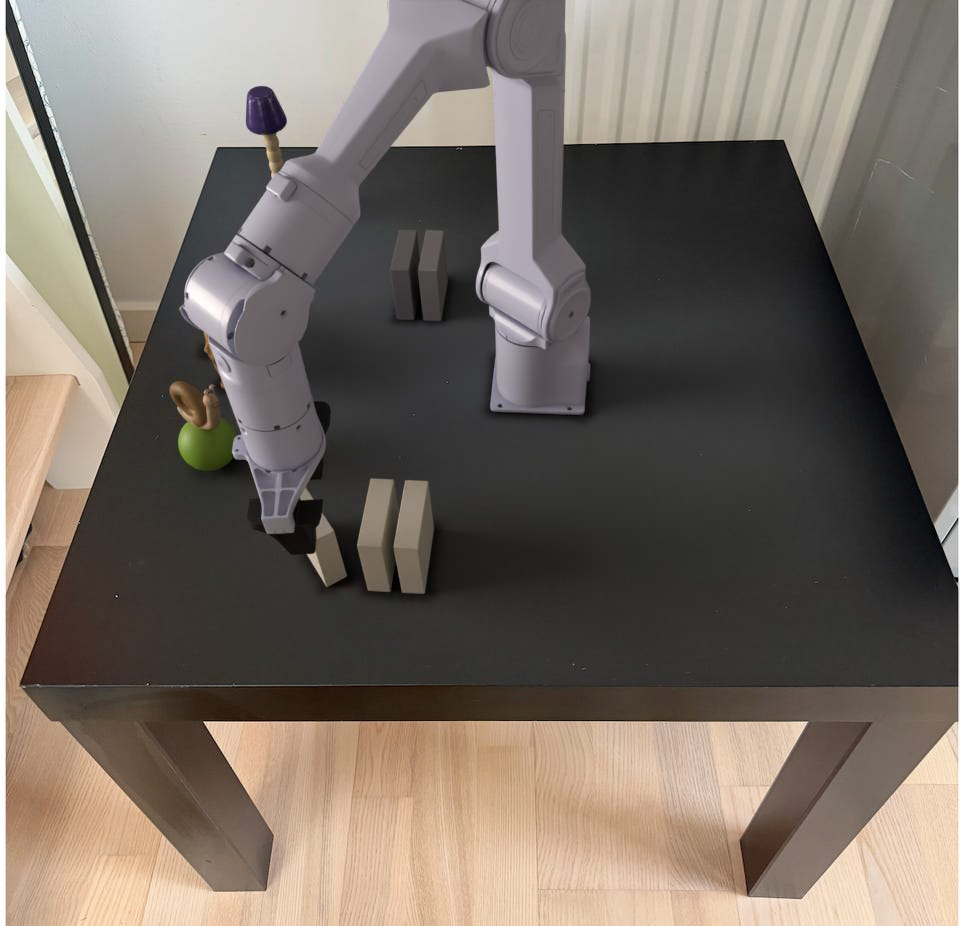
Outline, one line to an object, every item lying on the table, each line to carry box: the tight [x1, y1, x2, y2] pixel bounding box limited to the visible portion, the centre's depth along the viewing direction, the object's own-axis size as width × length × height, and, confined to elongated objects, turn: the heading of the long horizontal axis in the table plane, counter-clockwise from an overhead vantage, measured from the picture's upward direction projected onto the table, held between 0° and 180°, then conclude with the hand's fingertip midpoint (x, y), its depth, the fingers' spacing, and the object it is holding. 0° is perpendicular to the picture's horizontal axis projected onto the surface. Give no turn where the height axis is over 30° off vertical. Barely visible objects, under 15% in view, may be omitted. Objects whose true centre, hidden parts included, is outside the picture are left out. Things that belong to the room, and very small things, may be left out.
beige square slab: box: [300, 486, 348, 588], centre depth 79 cm, size 2×7×7 cm, turn 32°
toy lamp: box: [245, 85, 288, 179], centre depth 108 cm, size 5×5×17 cm
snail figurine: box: [169, 380, 237, 472], centre depth 84 cm, size 5×6×12 cm
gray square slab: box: [418, 229, 449, 322], centre depth 100 cm, size 2×7×7 cm, turn 175°
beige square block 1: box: [356, 478, 400, 593], centre depth 78 cm, size 2×7×7 cm, turn 175°
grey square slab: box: [389, 229, 421, 321], centre depth 101 cm, size 2×7×7 cm, turn 175°
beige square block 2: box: [394, 479, 435, 595], centre depth 78 cm, size 2×7×7 cm, turn 175°
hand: (306, 512), depth 77 cm, fingers open, 7 cm apart
